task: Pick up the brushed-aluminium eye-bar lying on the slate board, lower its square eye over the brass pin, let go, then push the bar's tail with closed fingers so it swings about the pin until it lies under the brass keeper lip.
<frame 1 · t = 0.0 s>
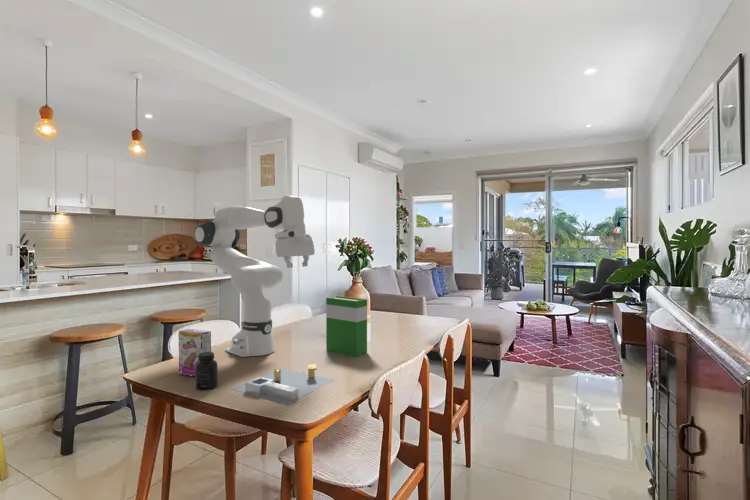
hand: (297, 267, 161), 39 cm above the table, tool pointing down, fingers open, 8 cm apart
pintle: (277, 382, 134), resting on board
candy bar box: (195, 375, 144), on the table
board: (284, 386, 132), on the table
keeper: (311, 376, 139), resting on board
hardback book: (346, 352, 174), on the table
link: (290, 398, 120), point 1 cm above the table, touching board
supplement bottle: (206, 389, 130), on the table
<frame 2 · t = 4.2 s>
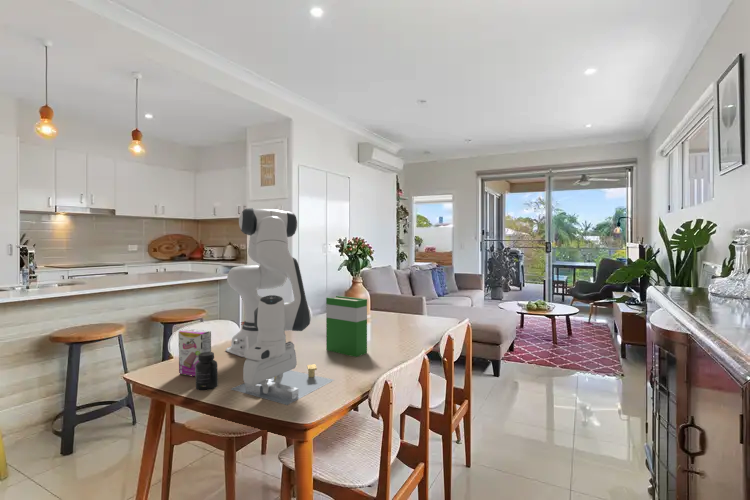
hand: (271, 390, 124), 2 cm above the table, tool pointing down, fingers closed on link, 3 cm apart
link: (290, 398, 120), point 1 cm above the table, touching board, gripper
everything else where it was.
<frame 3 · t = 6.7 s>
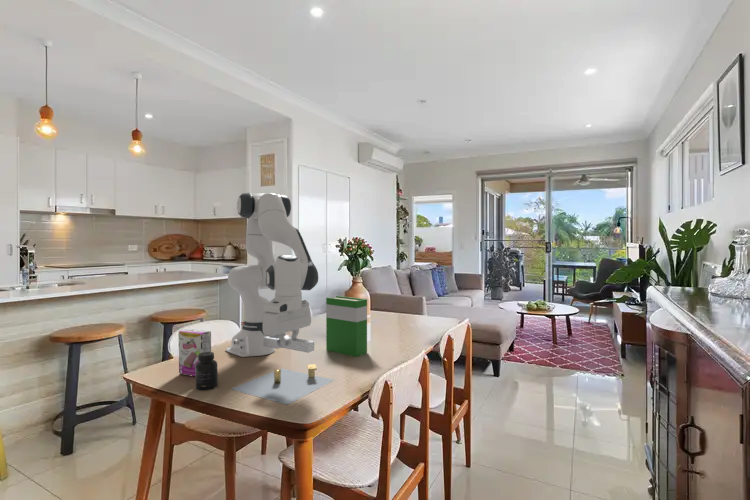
hand: (288, 344, 131), 15 cm above the table, tool pointing down, fingers closed on link, 3 cm apart
link: (306, 350, 127), point 14 cm above the table, touching gripper
everything else where it was.
when the fingers open (3 cm above the table, at t = 9.2 s): link stays where it is, resting on board.
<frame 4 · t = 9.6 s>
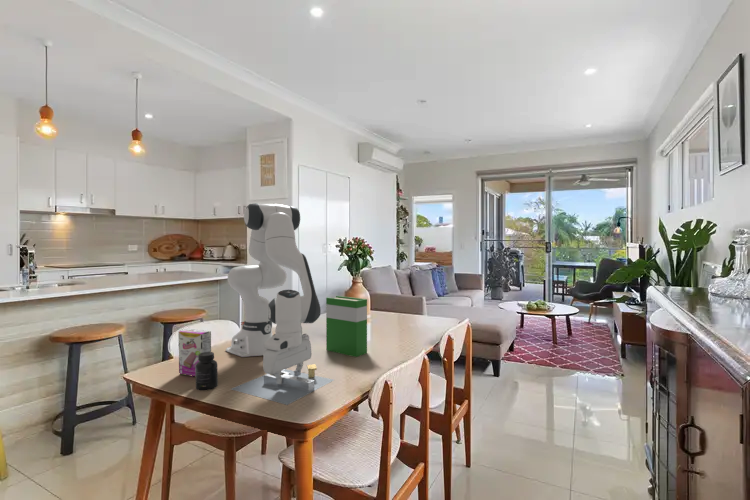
hand: (289, 379, 131), 3 cm above the table, tool pointing down, fingers open, 7 cm apart
link: (306, 389, 127), point 1 cm above the table, touching board
everything else where it was.
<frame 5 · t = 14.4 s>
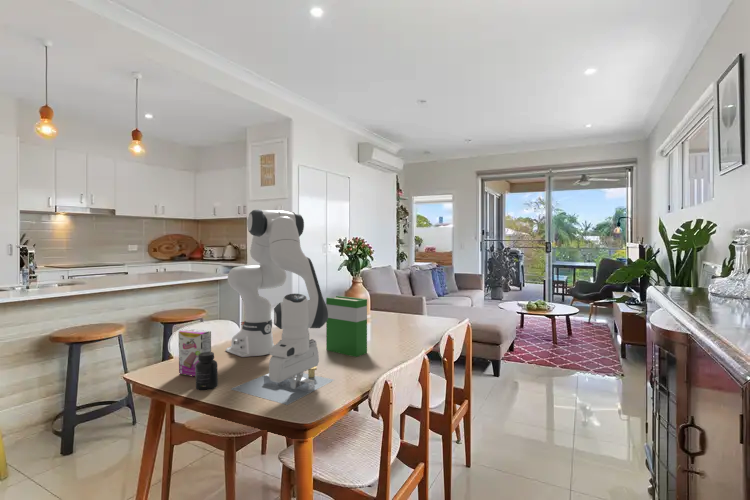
hand: (295, 387, 126), 2 cm above the table, tool pointing down, fingers closed
link: (306, 389, 127), point 1 cm above the table, touching board, gripper
everything else where it was.
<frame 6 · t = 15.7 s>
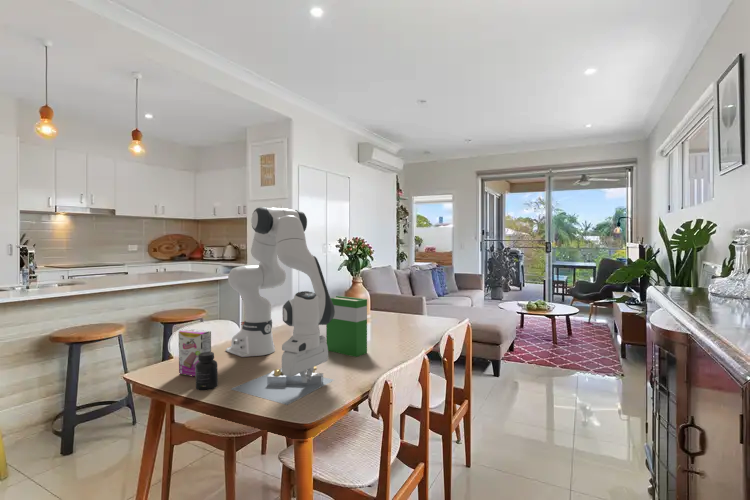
hand: (306, 381, 130), 2 cm above the table, tool pointing down, fingers closed
link: (316, 383, 133), point 1 cm above the table, touching board, gripper
everything else where it was.
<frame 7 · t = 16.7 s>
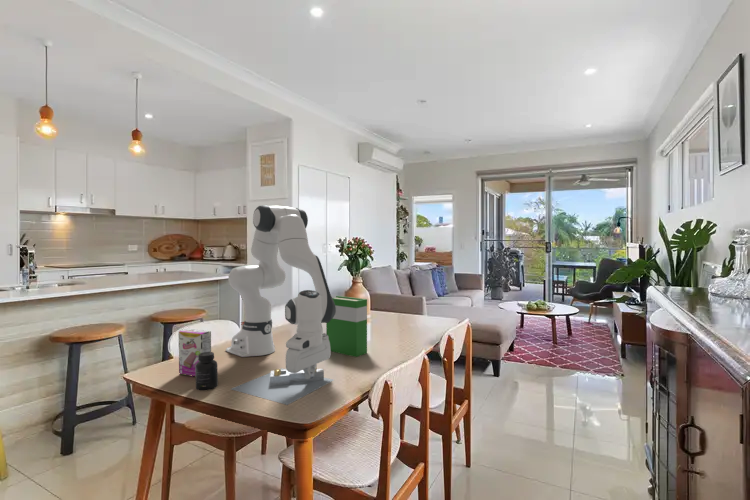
hand: (309, 378, 134), 2 cm above the table, tool pointing down, fingers closed
link: (317, 378, 137), point 1 cm above the table, touching board, gripper, keeper
everything else where it was.
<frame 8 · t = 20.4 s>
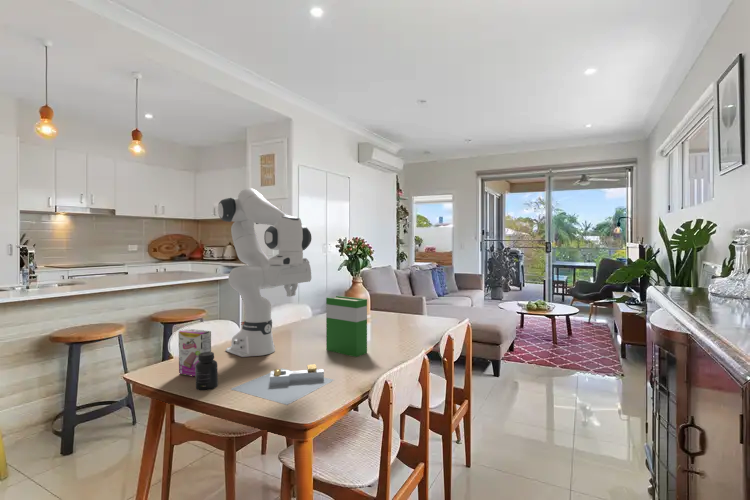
hand: (291, 296, 145), 29 cm above the table, tool pointing down, fingers closed
link: (317, 379, 137), point 1 cm above the table, touching board
everything else where it was.
at the end: link 0.2 cm from the target spot, point 0.8 cm above the table; link tilted 0°; link moved 17.9 cm from its start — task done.
